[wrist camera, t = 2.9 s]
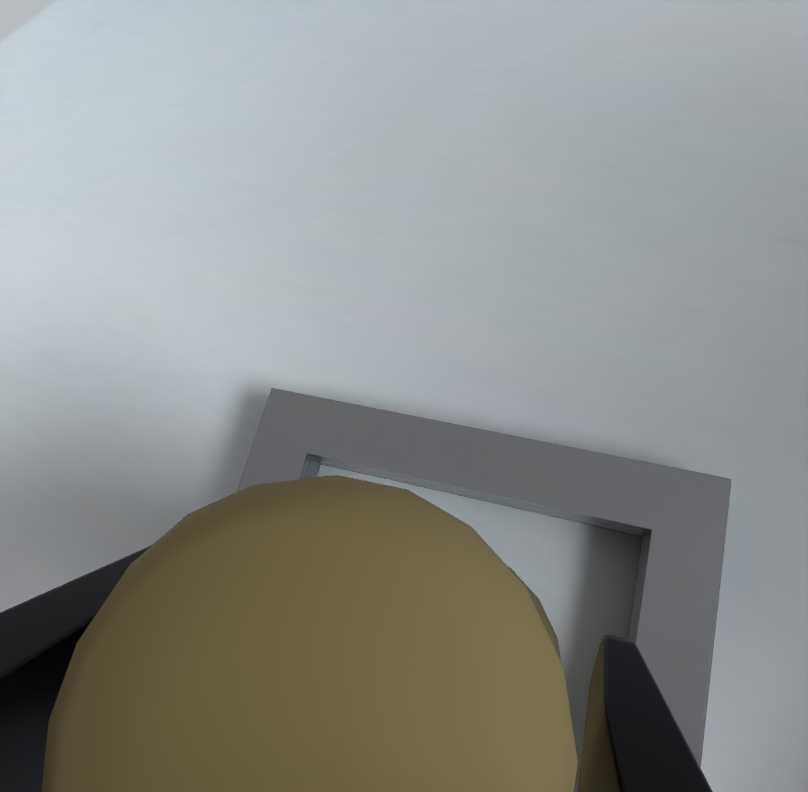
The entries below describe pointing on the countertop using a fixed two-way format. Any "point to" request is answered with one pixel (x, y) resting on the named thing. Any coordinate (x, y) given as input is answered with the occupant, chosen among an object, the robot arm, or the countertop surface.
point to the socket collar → (543, 493)
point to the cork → (315, 657)
